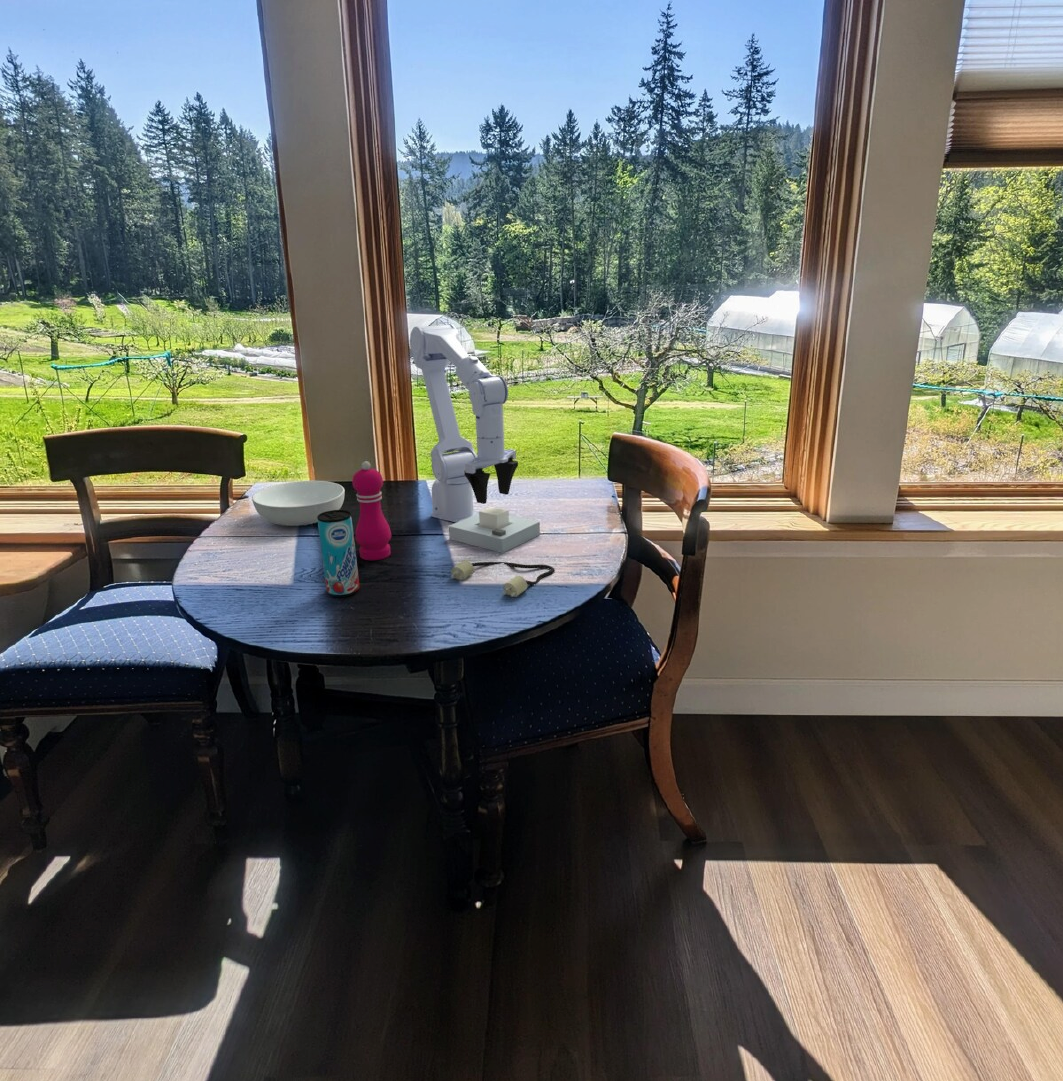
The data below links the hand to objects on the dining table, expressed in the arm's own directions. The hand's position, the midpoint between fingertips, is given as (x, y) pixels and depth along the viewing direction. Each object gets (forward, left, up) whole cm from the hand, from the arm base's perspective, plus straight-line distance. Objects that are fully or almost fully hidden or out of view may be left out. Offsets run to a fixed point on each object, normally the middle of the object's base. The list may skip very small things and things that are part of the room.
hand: (493, 498), depth 162 cm
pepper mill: (-14, -22, -9) cm, 28 cm away
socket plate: (0, 0, -9) cm, 9 cm away
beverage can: (-5, -38, -9) cm, 39 cm away
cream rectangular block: (0, 0, -9) cm, 9 cm away
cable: (+15, -16, -10) cm, 24 cm away
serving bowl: (-46, -16, -9) cm, 50 cm away
